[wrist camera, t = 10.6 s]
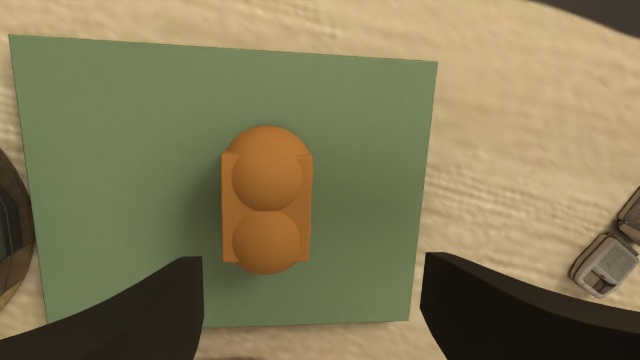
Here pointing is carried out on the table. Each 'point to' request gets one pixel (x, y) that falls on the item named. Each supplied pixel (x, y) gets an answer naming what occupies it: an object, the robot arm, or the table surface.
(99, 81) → the cutting board
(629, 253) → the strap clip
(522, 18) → the table surface
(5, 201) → the pan
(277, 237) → the orange double sphere block
